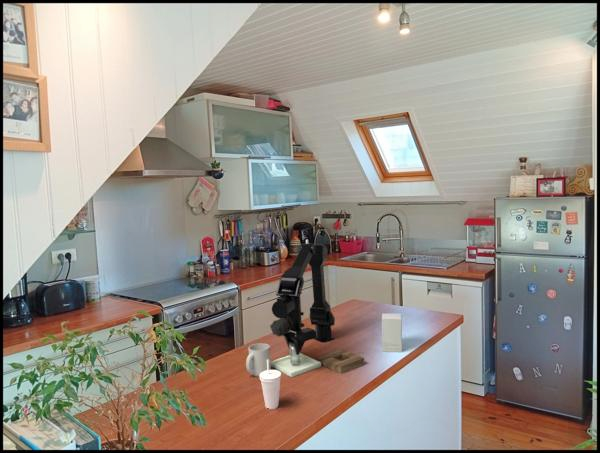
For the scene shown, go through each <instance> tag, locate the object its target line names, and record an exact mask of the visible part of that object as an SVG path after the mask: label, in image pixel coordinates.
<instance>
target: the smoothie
mask: <svg viewBox="0 0 600 453" xmlns="http://www.w3.org/2000/svg"><path fill="white" fill-rule="evenodd" d="M258 377H259V380H260V382H261V389H262V394H263V395H262V396H263V399H264V406H265V408H266V409H267V408H269V409H268V410H275V409H277V408H278V407H279V401H280V400H279V398H280V388H281V387H280V386H281V379H282V372H280V371H278V370H276V369H271V370H269V360H268V359H267V370H266V371H263V372H261V373H260V375H259V376H258Z"/></svg>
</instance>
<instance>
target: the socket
mask: <svg viewBox="0 0 600 453" xmlns="http://www.w3.org/2000/svg"><path fill="white" fill-rule="evenodd" d="M319 362H321V366H323V367H324V368H327V369H330V370H332V371H333V372H336V373H339V374H340V375H341V374H345V373H347V372H349V371H351V370H354V369H357V368H359V367H361V366H364V365H365V357H363V356H360V355H358V354H355V353H353V352H351V351H348V350H345V349H342V348H341V349H338V350H336V351H333V352H331V353H328V354H325V355H321V356H319Z"/></svg>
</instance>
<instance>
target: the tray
mask: <svg viewBox="0 0 600 453" xmlns="http://www.w3.org/2000/svg"><path fill="white" fill-rule="evenodd" d="M270 363H271V369H273V370H277V371H280V372H281V374H283V375H286V376H287V377H290V378H293V377H296V376H299V375H302V374H305V373H307V372H309V371H314V370H316V369H319V368H321V367H322V365H321V362H320V360H316V359H314V358H312V357H310V356H308V355H305V354H303V353H301V352H300V363H299V364H291V363H290V354H289V355H286V356H283V357H280V358H277V359H275V360H274V359H273V360H270Z"/></svg>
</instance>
